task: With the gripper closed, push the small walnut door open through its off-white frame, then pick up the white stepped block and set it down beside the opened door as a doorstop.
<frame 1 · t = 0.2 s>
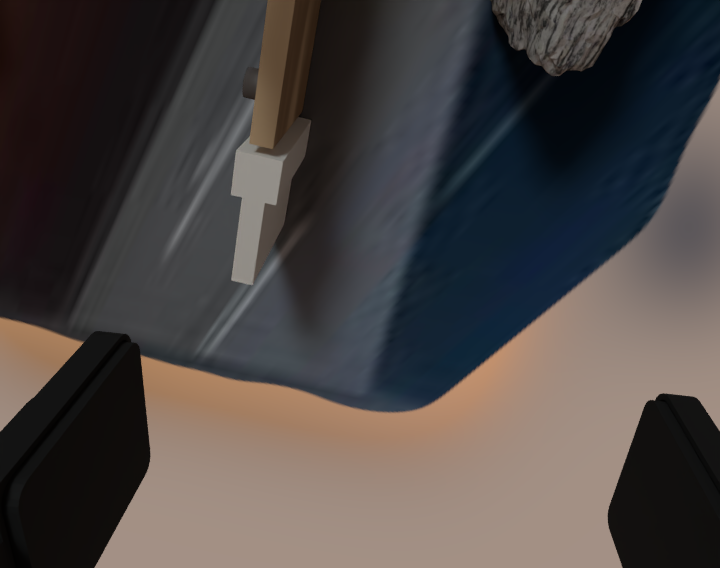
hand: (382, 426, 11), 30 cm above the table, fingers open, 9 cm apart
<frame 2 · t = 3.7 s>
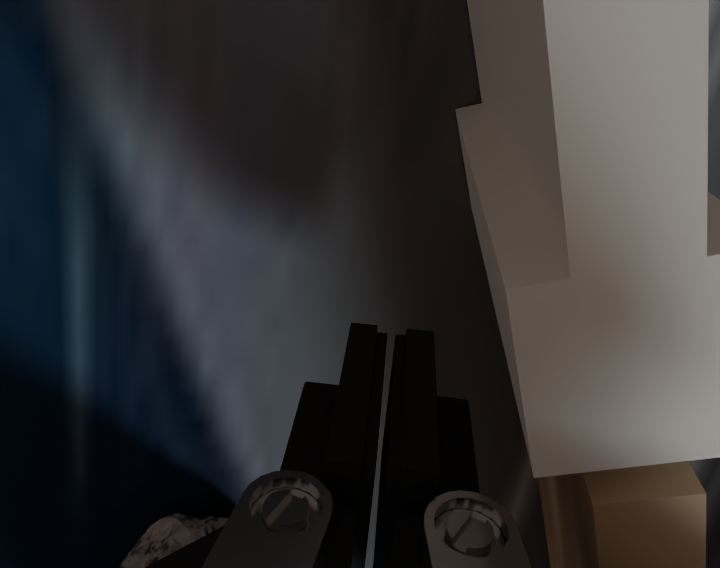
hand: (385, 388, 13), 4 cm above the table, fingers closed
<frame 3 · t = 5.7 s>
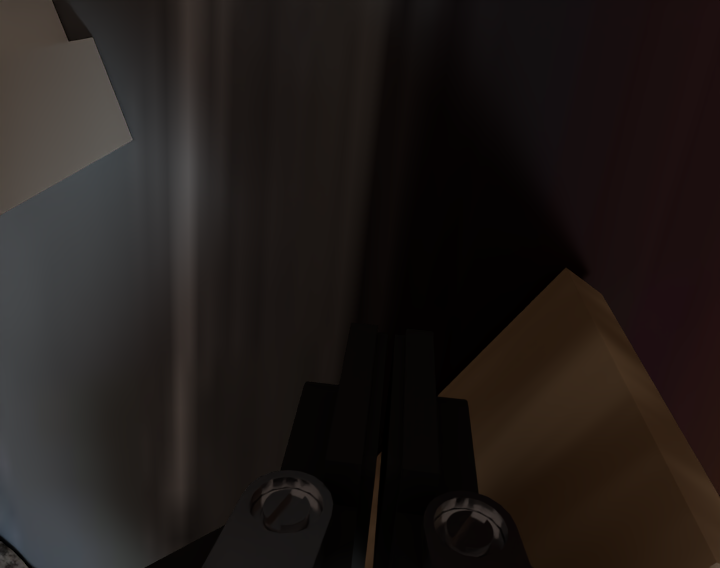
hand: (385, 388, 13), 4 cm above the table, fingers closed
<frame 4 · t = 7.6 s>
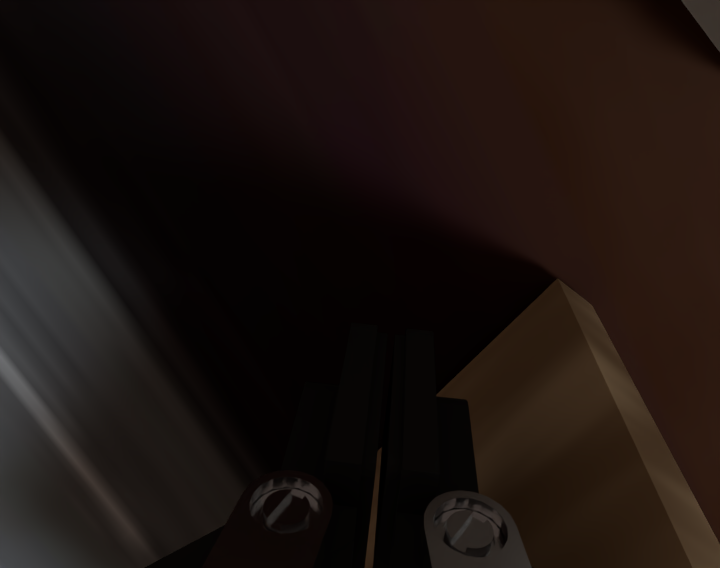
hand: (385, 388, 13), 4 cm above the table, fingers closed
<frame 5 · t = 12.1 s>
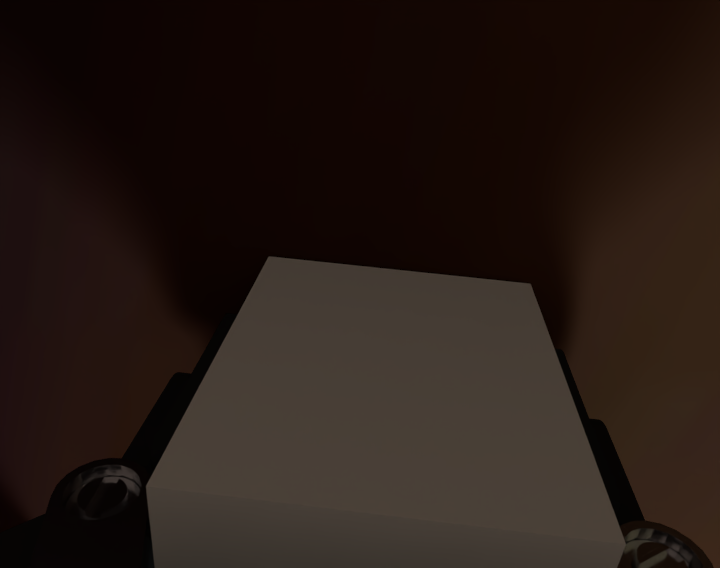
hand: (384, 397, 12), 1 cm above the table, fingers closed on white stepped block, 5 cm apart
white stepped block: (386, 377, 13), on the table, touching gripper
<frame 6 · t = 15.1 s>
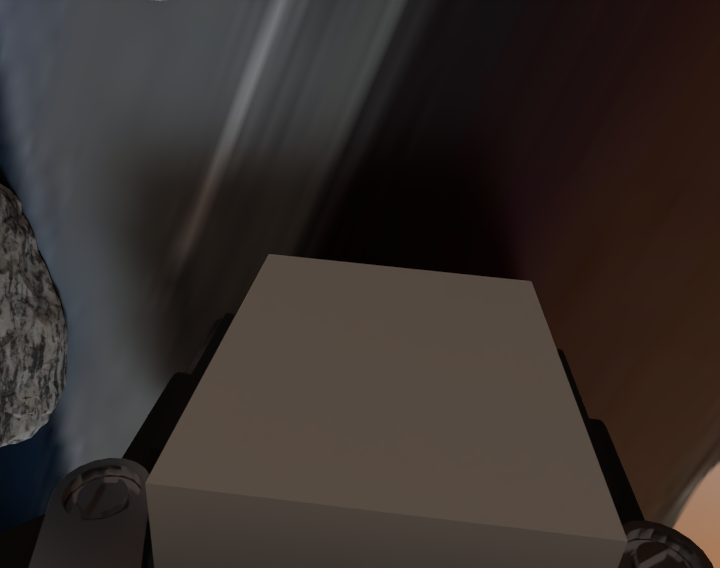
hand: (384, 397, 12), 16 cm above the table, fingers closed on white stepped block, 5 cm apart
door: (360, 398, 27), point 4 cm above the table, hinge at 84.0°
white stepped block: (386, 376, 13), point 16 cm above the table, touching gripper
when the fingers open (2 cm above the table, at t = 17.9 s): white stepped block drops 1 cm, on the table.
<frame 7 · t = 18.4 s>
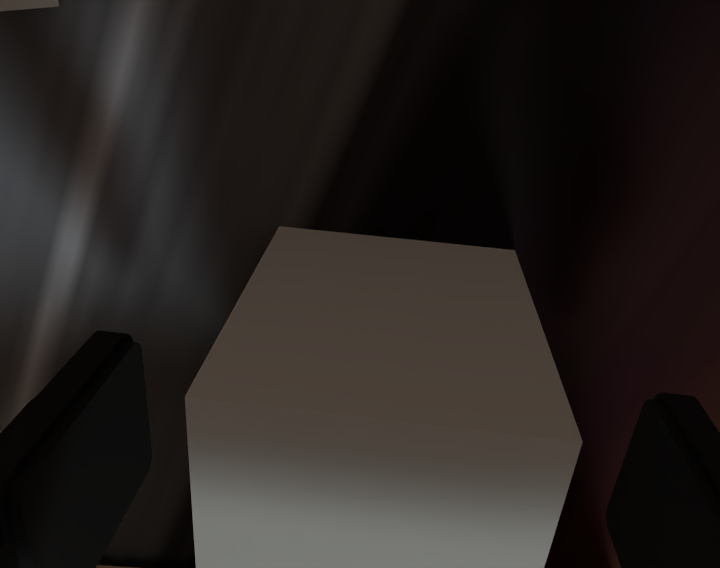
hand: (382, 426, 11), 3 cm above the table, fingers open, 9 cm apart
door frame: (94, 567, 19), on the table
white stepped block: (385, 338, 14), on the table
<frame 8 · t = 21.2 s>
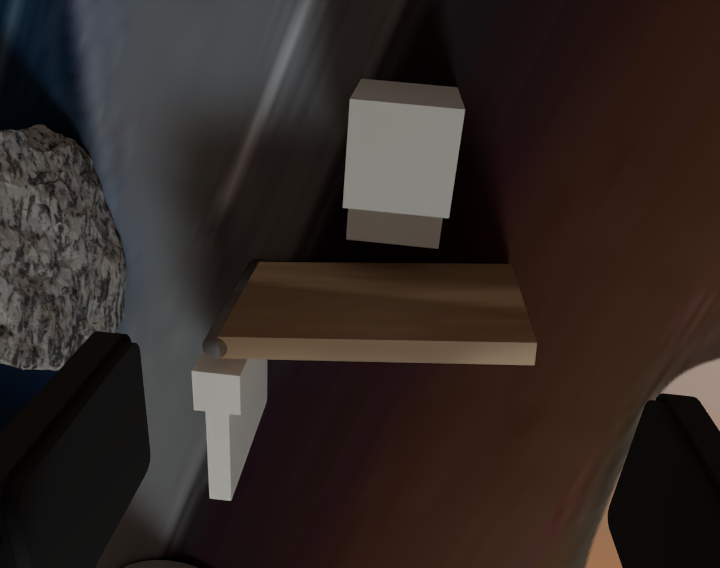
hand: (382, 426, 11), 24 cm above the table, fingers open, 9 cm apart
door: (371, 316, 33), point 4 cm above the table, hinge at 84.0°
rock: (66, 231, 38), on the table
door frame: (258, 268, 38), on the table
white stepped block: (403, 131, 33), on the table
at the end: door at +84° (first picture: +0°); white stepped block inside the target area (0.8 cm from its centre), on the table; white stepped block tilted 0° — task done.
